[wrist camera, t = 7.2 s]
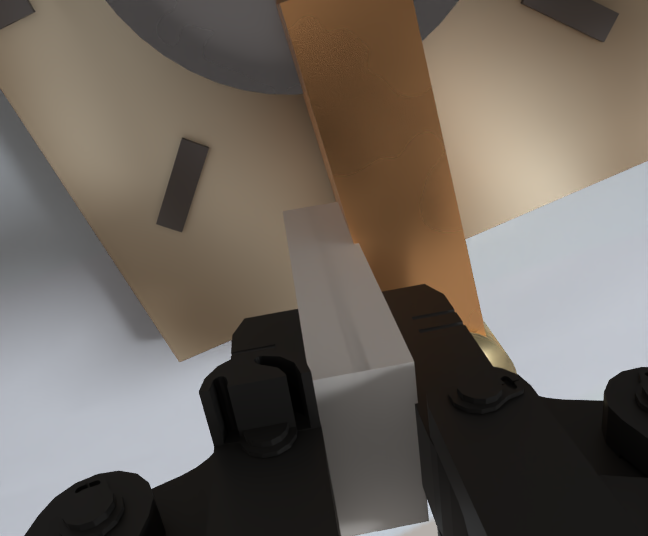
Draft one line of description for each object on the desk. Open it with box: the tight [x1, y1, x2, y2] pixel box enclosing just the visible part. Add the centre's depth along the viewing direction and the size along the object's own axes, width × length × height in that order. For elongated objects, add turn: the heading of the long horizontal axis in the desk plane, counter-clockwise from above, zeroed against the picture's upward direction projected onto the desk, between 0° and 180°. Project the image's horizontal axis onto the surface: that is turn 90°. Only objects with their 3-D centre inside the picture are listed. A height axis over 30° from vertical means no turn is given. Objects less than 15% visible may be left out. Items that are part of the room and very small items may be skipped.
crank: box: [106, 0, 517, 374], centre depth 12 cm, size 16×9×5 cm, turn 17°
